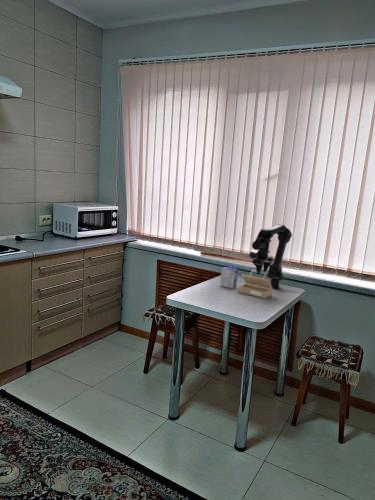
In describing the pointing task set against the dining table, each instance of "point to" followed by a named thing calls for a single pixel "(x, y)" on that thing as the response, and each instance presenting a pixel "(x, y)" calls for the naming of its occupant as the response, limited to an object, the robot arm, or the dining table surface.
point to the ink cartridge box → (229, 277)
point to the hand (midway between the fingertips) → (261, 273)
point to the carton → (255, 291)
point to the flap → (257, 280)
